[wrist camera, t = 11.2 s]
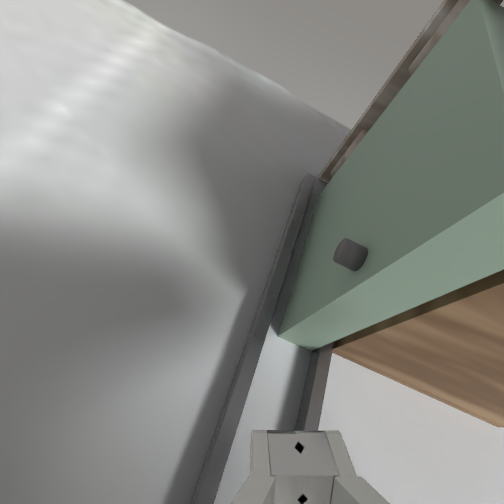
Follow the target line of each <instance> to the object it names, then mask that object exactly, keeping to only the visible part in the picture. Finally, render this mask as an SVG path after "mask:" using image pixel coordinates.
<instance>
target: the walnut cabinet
mask: <svg viewBox="0 0 504 504" xmlns="http://www.w3.org/2000/svg"><path fill="white" fill-rule="evenodd" d="M469 1H470V0H444V1H443V2H442V4H441V5H440V7H439V8H438V9H437V11H436V12H435V14H434V15H433V16H432V18H431V19H430V21H429V22H428V24H427V25H426V26H425V28H424V29H423V30H422V32H421V33H420V35H419V36H418V37H417V39H416V40H415V42H414V43H413V45H412V46H411V47H410V49H409V50H408V51H407V53H406V54H405V56H404V57H403V59H402V60H401V61H400V63H399V64H398V66H397V67H396V69H395V70H394V71H393V73H392V74H391V75H390V77H389V78H388V80H387V81H386V82H385V84H384V85H383V87H382V88H381V89H380V91H379V92H378V94H377V95H376V96H375V98H374V99H373V101H372V102H371V103H370V105H369V107H368V108H367V109H366V111H365V112H364V113H363V115H362V116H361V118H360V119H359V120H358V122H357V123H356V125H355V126H354V127H353V129H352V130H351V132H350V133H349V134H348V136H347V137H346V139H345V140H344V141H343V143H342V144H341V146H340V147H339V148H338V150H337V151H336V153H335V154H334V155H333V157H332V158H331V160H330V161H329V163H328V164H327V165H326V167H325V168H324V170H323V171H322V172H321V174H320V177H319V180H321V181H323V182H325V183H327V184H328V183H329V182H330V180H331V179H332V178H333V176H334V175H335V174H336V172H337V171H338V170H339V169H340V167H341V166H342V165H343V163H344V162H345V161H346V160H347V158H348V157H349V156H350V154H351V153H352V152H353V151H354V149H355V148H356V147H357V145H358V144H359V143H360V142H361V140H362V139H363V138H364V136H365V135H366V134H367V133H368V131H369V130H370V129H371V127H372V126H373V125H374V123H375V122H376V121H377V120H378V118H379V117H380V116H381V114H382V113H383V112H384V111H385V109H386V108H387V107H388V105H389V104H390V103H391V102H392V100H393V99H394V98H395V96H396V95H397V94H398V93H399V91H400V90H401V89H402V87H403V86H404V85H405V84H406V82H407V81H408V80H409V78H410V77H411V76H412V74H413V73H414V72H415V71H416V69H417V68H418V67H419V65H420V64H421V63H422V62H423V60H424V59H425V58H426V56H427V55H428V54H429V53H430V51H431V50H432V49H433V47H434V46H435V45H436V44H437V42H438V41H439V40H440V38H441V37H442V36H443V35H444V33H445V32H446V31H447V29H448V28H449V27H450V25H451V24H452V23H453V22H454V20H455V19H456V18H457V16H458V15H459V14H460V13H461V11H462V10H463V9H464V7H465V6H466V5H467V4H468V2H469ZM492 1H493V2H495V3H497V4H499V5H500V4H501V3H502V1H503V0H492ZM332 353H335V354H337V355H339V356H341V357H344V358H346V359H348V360H350V361H352V362H355V363H357V364H359V365H361V366H364V367H366V368H368V369H370V370H372V371H375V372H377V373H379V374H381V375H383V376H386V377H388V378H390V379H392V380H395V381H397V382H399V383H401V384H403V385H406V386H408V387H410V388H412V389H415V390H417V391H419V392H421V393H423V394H426V395H428V396H430V397H432V398H435V399H437V400H439V401H441V402H443V403H446V404H448V405H450V406H452V407H454V408H457V409H459V410H461V411H463V412H466V413H468V414H470V415H472V416H474V417H477V418H479V419H481V420H483V421H486V422H488V423H490V424H492V425H494V426H497V427H504V269H503V270H501V271H499V272H496V273H494V274H492V275H489V276H487V277H485V278H482V279H480V280H477V281H475V282H473V283H470V284H468V285H466V286H463V287H461V288H459V289H456V290H454V291H452V292H449V293H447V294H444V295H442V296H440V297H437V298H435V299H433V300H430V301H428V302H426V303H423V304H421V305H418V306H416V307H414V308H411V309H409V310H407V311H404V312H402V313H400V314H397V315H395V316H392V317H390V318H388V319H385V320H383V321H381V322H378V323H376V324H374V325H371V326H369V327H367V328H364V329H362V330H359V331H357V332H355V333H352V334H350V335H348V336H345V337H343V338H341V339H338V340H336V341H334V344H333V349H332Z"/></svg>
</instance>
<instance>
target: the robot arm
mask: <svg viewBox="0 0 504 504" xmlns="http://www.w3.org/2000/svg"><path fill="white" fill-rule="evenodd" d="M249 475H250V476H248V478H247V479H246V481H245V483H244V484H243V486H242V488H241V489H240V491H239V492H238V494H237V496H236V497H235V499H234V501H233V502H232V504H390V503H389V502H388V501H387V500H385V499H384V498H383V497H382V496H381V495H380V494H379V493H378V492H377V491H376V490H375V489H374V488H373V487H372V486H371V485H370V484H369V483H368V482H367V481H366V480H365V479H363V478H362V477H357V475H356V473H355V470H354V467H353V465H352V462H351V459H350V457H349V454H348V451H347V448H346V446H345V443H344V440H343V438H342V435H341V433H340V432H339V431H278V430H267V431H266V430H252V431H251V445H250V473H249Z"/></svg>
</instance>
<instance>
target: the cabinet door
mask: <svg viewBox="0 0 504 504" xmlns="http://www.w3.org/2000/svg"><path fill="white" fill-rule="evenodd" d="M503 269H504V7H502V6H500V5H499V4H497V3H495V2H493V1H492V0H470V1H469V2H468V4H467V5H466V6H465V7H464V9H463V10H462V11H461V13H460V14H459V15H458V16H457V18H456V19H455V20H454V22H453V23H452V24H451V25H450V27H449V28H448V29H447V31H446V32H445V33H444V35H443V36H442V37H441V38H440V40H439V41H438V42H437V44H436V45H435V46H434V47H433V49H432V50H431V51H430V53H429V54H428V55H427V56H426V58H425V59H424V60H423V62H422V63H421V64H420V65H419V67H418V68H417V69H416V71H415V72H414V73H413V74H412V76H411V77H410V78H409V80H408V81H407V82H406V84H405V85H404V86H403V87H402V89H401V90H400V91H399V93H398V94H397V95H396V96H395V98H394V99H393V100H392V102H391V103H390V104H389V105H388V107H387V108H386V109H385V111H384V112H383V113H382V114H381V116H380V117H379V118H378V120H377V121H376V122H375V123H374V125H373V126H372V127H371V129H370V130H369V131H368V133H367V134H366V135H365V136H364V138H363V139H362V140H361V142H360V143H359V144H358V145H357V147H356V148H355V149H354V151H353V152H352V153H351V154H350V156H349V157H348V158H347V160H346V161H345V162H344V163H343V165H342V166H341V167H340V169H339V170H338V171H337V172H336V174H335V175H334V176H333V178H332V179H331V180H330V182H329V183H328V184H327V185H326V187H325V188H324V189H323V191H322V192H321V193H320V194H319V196H318V200H317V203H316V207H315V210H314V214H313V217H312V220H311V224H310V227H309V231H308V234H307V238H306V241H305V245H304V248H303V251H302V255H301V258H300V262H299V265H298V269H297V272H296V276H295V279H294V282H293V286H292V289H291V293H290V296H289V300H288V303H287V307H286V310H285V314H284V317H283V320H282V324H281V327H280V331H279V334H278V337H280V338H283V339H285V340H287V341H289V342H292V343H294V344H296V345H298V346H301V347H303V348H305V349H307V350H309V351H312V350H315V349H317V348H319V347H322V346H324V345H326V344H329V343H331V342H333V341H336V340H338V339H341V338H343V337H345V336H348V335H350V334H352V333H355V332H357V331H359V330H362V329H364V328H367V327H369V326H371V325H374V324H376V323H378V322H381V321H383V320H385V319H388V318H390V317H392V316H395V315H397V314H400V313H402V312H404V311H407V310H409V309H411V308H414V307H416V306H418V305H421V304H423V303H426V302H428V301H430V300H433V299H435V298H437V297H440V296H442V295H444V294H447V293H449V292H452V291H454V290H456V289H459V288H461V287H463V286H466V285H468V284H470V283H473V282H475V281H477V280H480V279H482V278H485V277H487V276H489V275H492V274H494V273H496V272H499V271H501V270H503Z"/></svg>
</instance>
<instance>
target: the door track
mask: <svg viewBox="0 0 504 504" xmlns="http://www.w3.org/2000/svg"><path fill="white" fill-rule="evenodd" d="M315 178H316V177H314V176H312V175H310V174H307V175H306V177H305V178H304V180H303V181H302V183H301V186H300V189H299V192H298V195H297V198H296V201H295V204H294V206H293V209H292V212H291V215H290V218H289V221H288V224H287V227H286V230H285V232H284V235H283V238H282V241H281V244H280V247H279V250H278V253H277V256H276V258H275V261H274V264H273V267H272V270H271V273H270V276H269V279H268V281H267V284H266V287H265V290H264V293H263V296H262V299H261V302H260V305H259V307H258V310H257V313H256V316H255V319H254V322H253V325H252V328H251V331H250V333H249V336H248V339H247V342H246V345H245V348H244V351H243V354H242V356H241V359H240V362H239V365H238V368H237V371H236V374H235V377H234V380H233V382H232V385H231V388H230V391H229V394H228V397H227V400H226V403H225V406H224V408H223V411H222V414H221V417H220V420H219V423H218V426H217V429H216V431H215V434H214V437H213V440H212V443H211V446H210V449H209V452H208V455H207V457H206V460H205V463H204V466H203V469H202V472H201V475H200V478H199V481H198V483H197V486H196V489H195V492H194V495H193V498H192V501H191V504H213V503H214V500H215V497H216V494H217V491H218V487H219V484H220V481H221V478H222V475H223V471H224V468H225V465H226V462H227V459H228V456H229V452H230V449H231V446H232V443H233V440H234V436H235V433H236V430H237V427H238V424H239V420H240V417H241V414H242V411H243V408H244V404H245V401H246V398H247V395H248V392H249V389H250V385H251V382H252V379H253V376H254V373H255V369H256V366H257V363H258V360H259V357H260V353H261V350H262V347H263V344H264V341H265V337H266V334H267V331H268V328H269V325H270V322H271V318H272V315H273V312H274V309H275V306H276V302H277V299H278V296H279V293H280V290H281V286H282V283H283V280H284V277H285V274H286V270H287V267H288V264H289V261H290V258H291V255H292V251H293V248H294V245H295V242H296V239H297V235H298V232H299V229H300V226H301V223H302V219H303V216H304V213H305V210H306V207H307V203H308V200H309V197H310V194H311V191H312V188H313V184H314V181H315ZM333 344H334V341H333V342H331V343H329V344H326V345H324V346H322V347H319V348H317V349H315V350H313V351H312V356H311V360H310V365H309V369H308V374H307V379H306V383H305V388H304V392H303V397H302V401H301V406H300V411H299V415H298V420H297V424H296V429H295V431H318V426H319V421H320V415H321V410H322V404H323V399H324V393H325V388H326V382H327V377H328V371H329V366H330V360H331V355H332V349H333Z"/></svg>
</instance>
